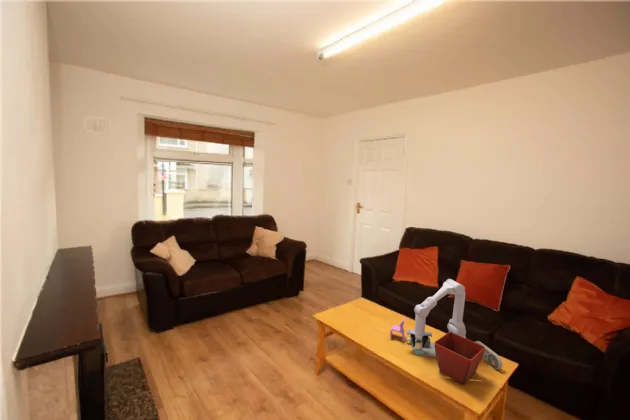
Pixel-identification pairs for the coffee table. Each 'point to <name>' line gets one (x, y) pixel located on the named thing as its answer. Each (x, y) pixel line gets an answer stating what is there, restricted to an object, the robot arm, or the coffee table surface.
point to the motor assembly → (428, 347)
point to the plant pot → (458, 356)
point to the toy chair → (398, 329)
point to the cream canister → (418, 344)
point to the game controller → (491, 357)
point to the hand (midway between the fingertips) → (418, 346)
